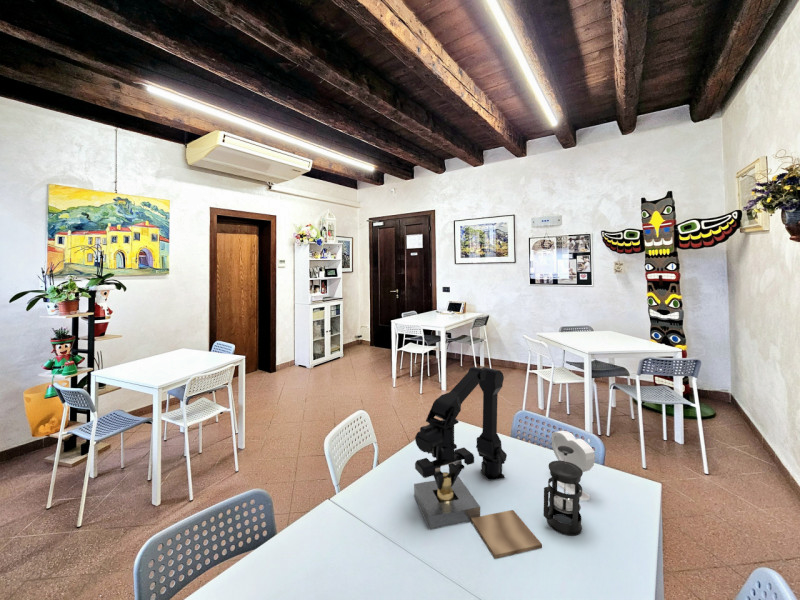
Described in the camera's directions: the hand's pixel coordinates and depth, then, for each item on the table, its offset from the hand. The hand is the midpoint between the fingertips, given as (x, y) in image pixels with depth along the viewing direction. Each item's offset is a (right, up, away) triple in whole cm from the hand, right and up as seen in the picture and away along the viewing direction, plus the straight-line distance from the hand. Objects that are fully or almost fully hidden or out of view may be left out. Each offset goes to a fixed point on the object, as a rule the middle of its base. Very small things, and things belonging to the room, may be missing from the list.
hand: (445, 487), depth 109 cm
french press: (+33, -7, -8) cm, 35 cm away
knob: (0, -5, 0) cm, 5 cm away
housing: (0, -6, 0) cm, 6 cm away
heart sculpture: (+44, -5, +9) cm, 46 cm away
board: (+15, -7, -11) cm, 20 cm away
